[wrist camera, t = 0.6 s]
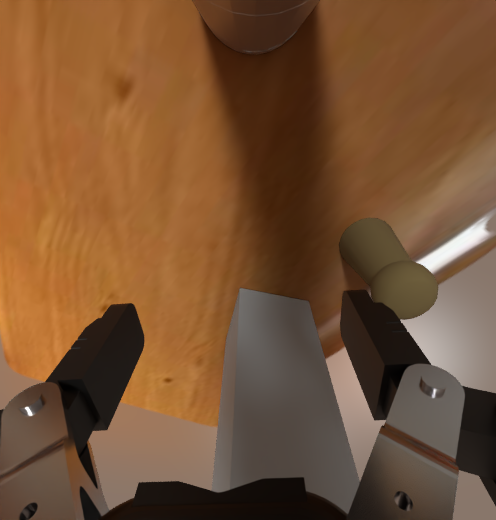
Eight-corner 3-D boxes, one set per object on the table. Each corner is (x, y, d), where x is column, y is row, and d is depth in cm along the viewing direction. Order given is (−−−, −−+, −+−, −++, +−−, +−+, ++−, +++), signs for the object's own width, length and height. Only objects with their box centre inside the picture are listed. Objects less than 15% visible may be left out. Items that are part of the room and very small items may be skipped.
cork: (367, 273, 35) (411, 340, 26) (328, 250, 34) (359, 312, 24) (404, 234, 33) (468, 292, 23) (364, 207, 31) (414, 258, 22)
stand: (238, 286, 36) (203, 911, 9) (310, 300, 37) (486, 899, 10) (224, 340, 41) (170, 863, 13) (288, 351, 42) (365, 858, 14)
